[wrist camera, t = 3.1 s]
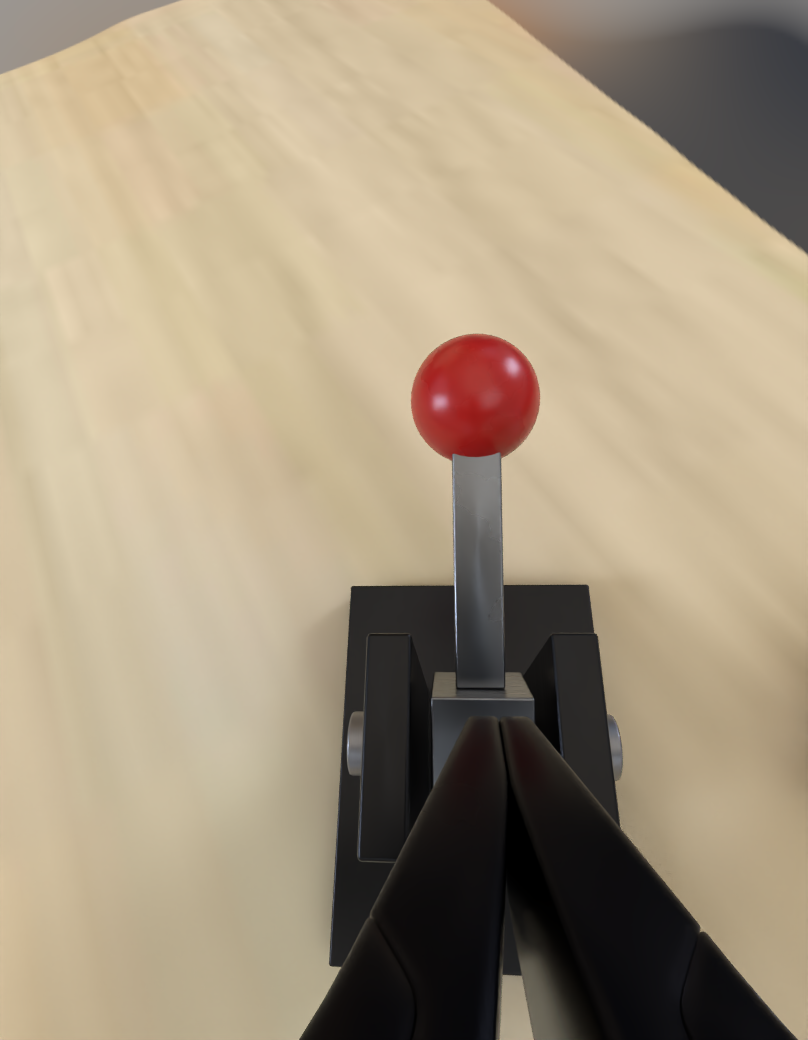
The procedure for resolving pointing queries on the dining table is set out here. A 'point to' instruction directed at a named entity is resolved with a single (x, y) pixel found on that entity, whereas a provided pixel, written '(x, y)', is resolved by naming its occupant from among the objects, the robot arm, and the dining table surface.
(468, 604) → the switch lever
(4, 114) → the dining table surface
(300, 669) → the dining table surface
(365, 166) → the dining table surface
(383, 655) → the switch bracket
